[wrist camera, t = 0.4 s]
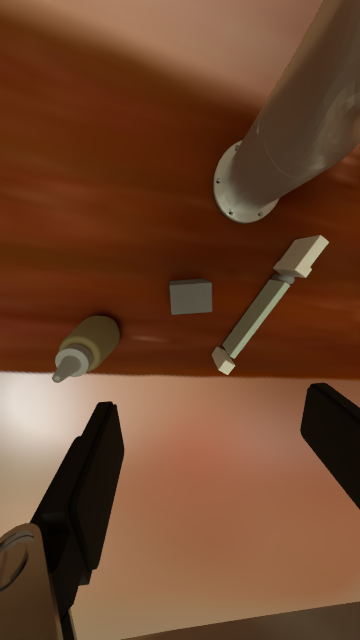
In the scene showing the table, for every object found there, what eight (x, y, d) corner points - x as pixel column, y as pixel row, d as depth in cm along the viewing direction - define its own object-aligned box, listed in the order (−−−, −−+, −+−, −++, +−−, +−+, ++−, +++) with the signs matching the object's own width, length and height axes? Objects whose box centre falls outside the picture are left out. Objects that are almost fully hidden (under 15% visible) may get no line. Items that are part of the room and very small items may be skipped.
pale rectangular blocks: (293, 239, 37) (321, 233, 30) (303, 246, 37) (332, 242, 30) (210, 354, 43) (218, 371, 37) (219, 359, 44) (229, 376, 37)
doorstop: (169, 280, 38) (169, 285, 30) (203, 278, 38) (211, 282, 30) (171, 304, 39) (171, 314, 32) (203, 302, 39) (212, 311, 32)
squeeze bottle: (91, 304, 38) (29, 339, 21) (129, 319, 40) (98, 362, 22) (81, 338, 40) (16, 394, 23) (117, 350, 42) (81, 412, 24)
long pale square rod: (273, 272, 38) (290, 274, 33) (281, 278, 39) (299, 281, 33) (221, 344, 42) (229, 355, 37) (229, 348, 43) (238, 360, 37)
